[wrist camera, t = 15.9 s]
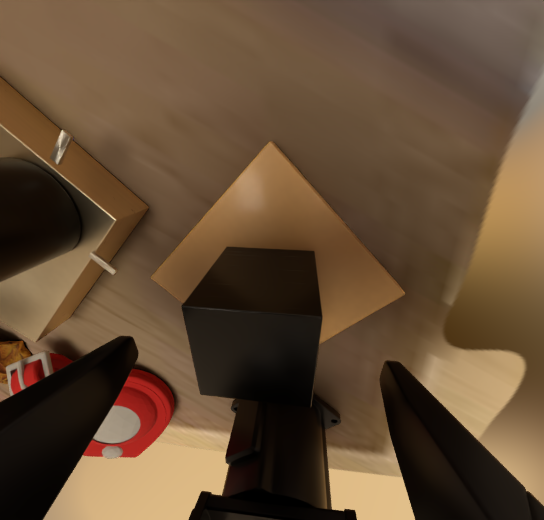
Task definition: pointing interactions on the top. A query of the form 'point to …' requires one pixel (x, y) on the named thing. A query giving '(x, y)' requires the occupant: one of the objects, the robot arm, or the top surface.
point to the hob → (91, 209)
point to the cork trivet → (284, 241)
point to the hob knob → (33, 218)
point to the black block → (257, 326)
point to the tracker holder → (123, 415)
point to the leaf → (11, 356)
